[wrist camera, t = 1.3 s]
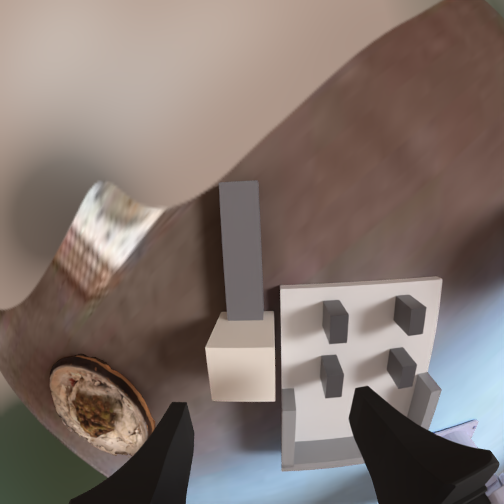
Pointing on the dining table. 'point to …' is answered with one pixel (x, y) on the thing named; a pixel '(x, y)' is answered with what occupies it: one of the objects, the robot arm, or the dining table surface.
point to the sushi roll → (100, 405)
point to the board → (352, 361)
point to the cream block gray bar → (242, 305)
